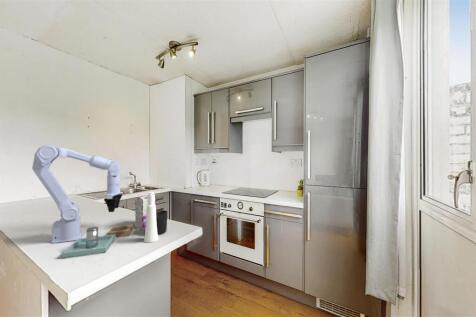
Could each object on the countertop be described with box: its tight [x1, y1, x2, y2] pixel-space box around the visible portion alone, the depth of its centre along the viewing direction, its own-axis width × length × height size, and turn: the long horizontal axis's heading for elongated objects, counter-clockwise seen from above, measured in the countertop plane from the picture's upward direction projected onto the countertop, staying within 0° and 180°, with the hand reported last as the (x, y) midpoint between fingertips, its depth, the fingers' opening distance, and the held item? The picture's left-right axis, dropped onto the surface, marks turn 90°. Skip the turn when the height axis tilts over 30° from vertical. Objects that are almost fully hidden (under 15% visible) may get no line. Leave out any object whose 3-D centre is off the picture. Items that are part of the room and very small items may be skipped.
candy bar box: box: [134, 194, 148, 230], centre depth 107 cm, size 11×5×16 cm, turn 168°
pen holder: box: [156, 209, 168, 236], centre depth 96 cm, size 9×9×10 cm
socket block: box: [107, 224, 134, 238], centre depth 95 cm, size 9×9×2 cm
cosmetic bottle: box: [143, 191, 159, 244], centre depth 87 cm, size 6×6×22 cm
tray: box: [61, 234, 117, 260], centre depth 80 cm, size 14×14×2 cm
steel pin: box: [85, 226, 99, 248], centre depth 80 cm, size 4×4×8 cm
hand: (113, 209), depth 100 cm, fingers open, 7 cm apart
